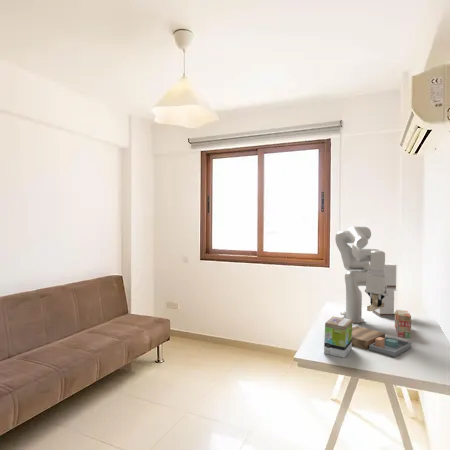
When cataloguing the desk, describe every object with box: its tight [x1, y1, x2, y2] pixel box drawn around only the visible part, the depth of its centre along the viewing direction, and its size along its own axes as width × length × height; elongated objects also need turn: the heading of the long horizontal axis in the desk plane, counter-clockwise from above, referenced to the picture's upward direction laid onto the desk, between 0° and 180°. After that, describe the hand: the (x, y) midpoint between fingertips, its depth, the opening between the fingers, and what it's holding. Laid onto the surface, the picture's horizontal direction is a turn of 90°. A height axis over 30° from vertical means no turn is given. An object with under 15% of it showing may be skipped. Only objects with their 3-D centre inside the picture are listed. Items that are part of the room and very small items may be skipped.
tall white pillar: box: [371, 262, 397, 318], centre depth 230 cm, size 11×11×35 cm
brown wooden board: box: [352, 325, 386, 350], centre depth 177 cm, size 16×20×4 cm
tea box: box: [323, 316, 353, 359], centre depth 162 cm, size 15×10×15 cm
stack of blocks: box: [394, 309, 412, 339], centre depth 193 cm, size 21×6×12 cm, turn 158°
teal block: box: [385, 338, 398, 348], centre depth 169 cm, size 4×4×2 cm
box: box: [368, 336, 413, 359], centre depth 166 cm, size 12×20×2 cm, turn 131°
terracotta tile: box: [375, 337, 385, 348], centre depth 166 cm, size 4×4×2 cm
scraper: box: [366, 294, 384, 312], centre depth 187 cm, size 3×16×8 cm, turn 131°
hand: (376, 305), depth 187 cm, fingers closed on scraper, 3 cm apart
